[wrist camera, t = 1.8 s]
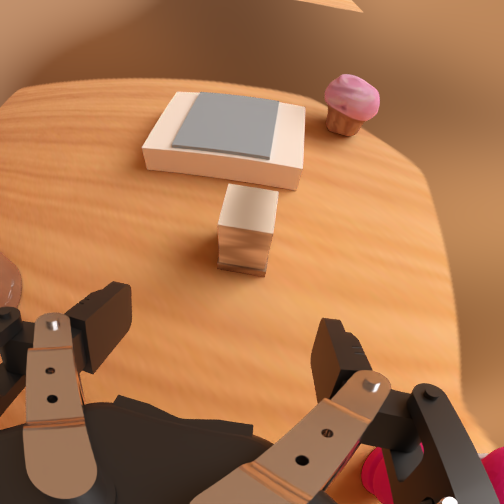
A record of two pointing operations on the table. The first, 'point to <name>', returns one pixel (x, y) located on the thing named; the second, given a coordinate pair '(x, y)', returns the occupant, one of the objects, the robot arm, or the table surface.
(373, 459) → the pepper mill
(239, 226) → the memo note cube
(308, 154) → the table surface
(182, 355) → the table surface
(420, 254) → the table surface
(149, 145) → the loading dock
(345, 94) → the cupcake
